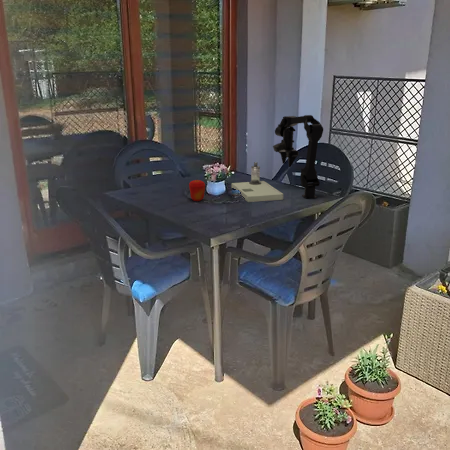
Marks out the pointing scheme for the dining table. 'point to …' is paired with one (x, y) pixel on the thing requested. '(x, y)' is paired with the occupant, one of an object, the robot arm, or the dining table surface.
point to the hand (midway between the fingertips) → (286, 165)
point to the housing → (257, 191)
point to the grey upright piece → (255, 173)
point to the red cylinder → (197, 190)
